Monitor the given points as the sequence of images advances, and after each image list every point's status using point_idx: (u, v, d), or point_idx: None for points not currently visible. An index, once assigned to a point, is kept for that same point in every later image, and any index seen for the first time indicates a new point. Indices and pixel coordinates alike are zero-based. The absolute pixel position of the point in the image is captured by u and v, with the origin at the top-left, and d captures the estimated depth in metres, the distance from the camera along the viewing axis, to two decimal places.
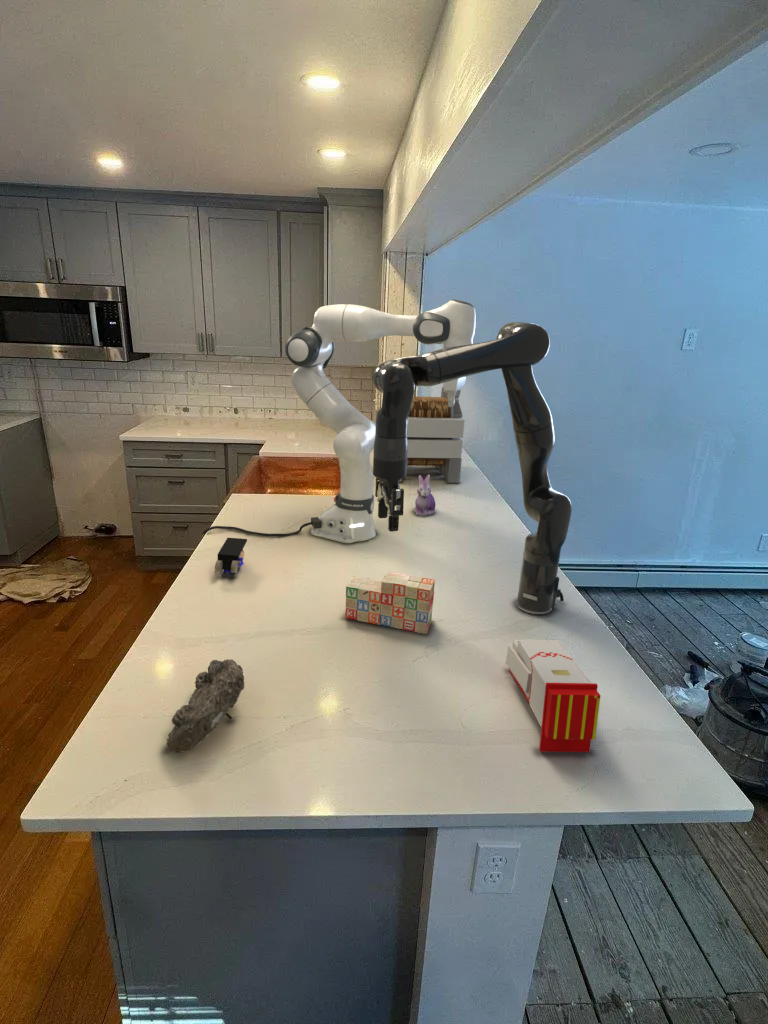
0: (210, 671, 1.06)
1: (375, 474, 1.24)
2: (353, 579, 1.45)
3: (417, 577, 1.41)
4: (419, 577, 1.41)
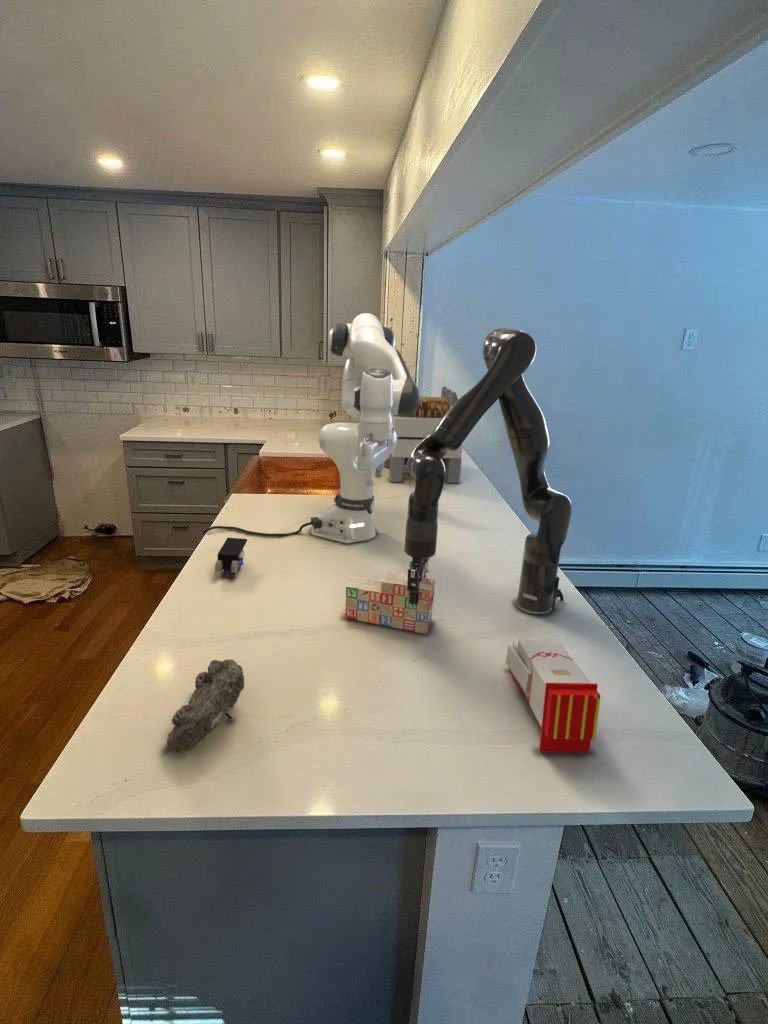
0: (210, 671, 1.06)
1: (404, 549, 1.36)
2: (353, 579, 1.45)
3: None
4: (419, 577, 1.41)
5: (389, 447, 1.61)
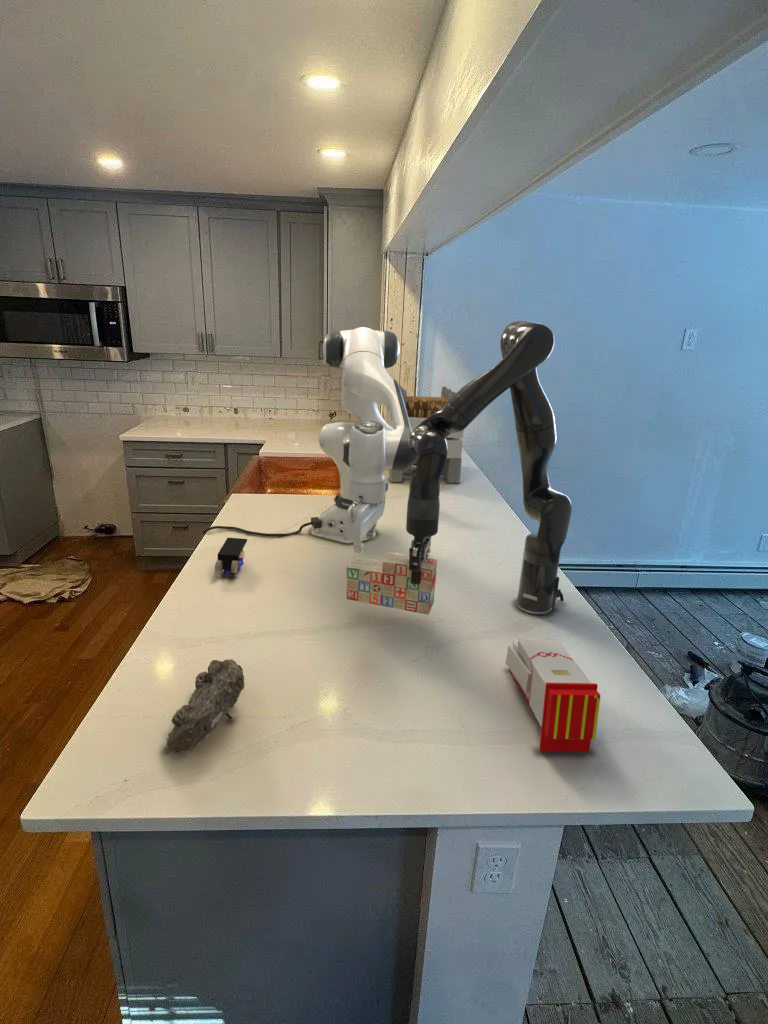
0: (210, 671, 1.06)
1: (406, 528, 1.34)
2: (354, 560, 1.43)
3: None
4: None
5: (382, 504, 1.44)
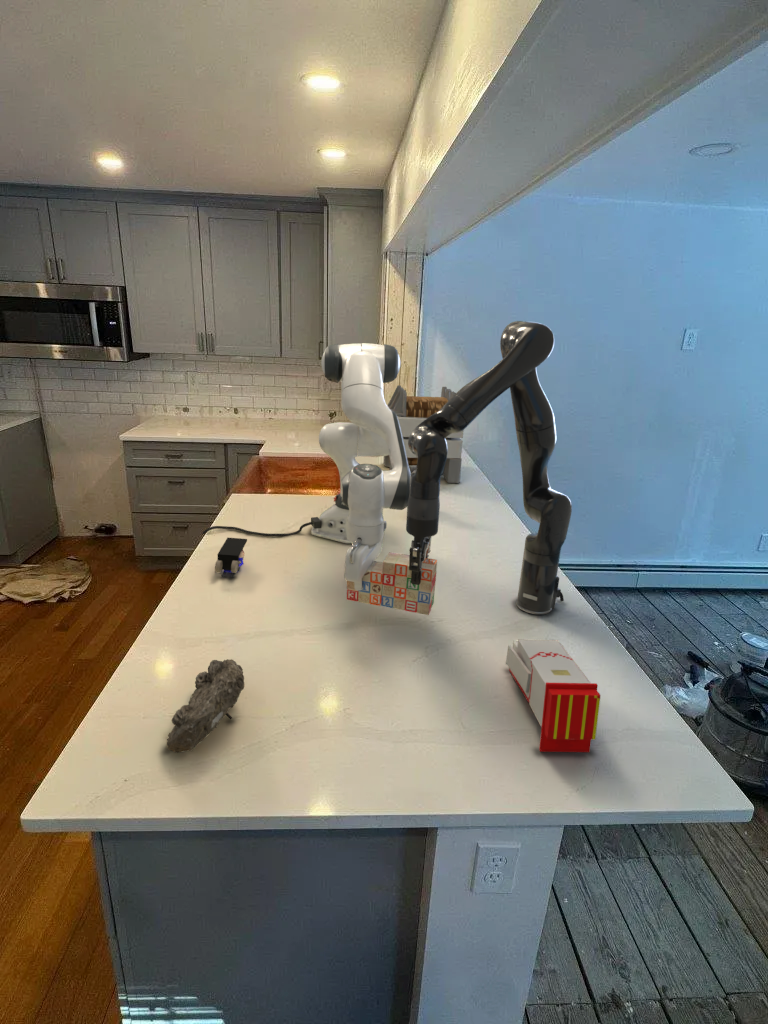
0: (210, 671, 1.06)
1: (406, 528, 1.34)
2: None
3: None
4: None
5: (381, 542, 1.47)
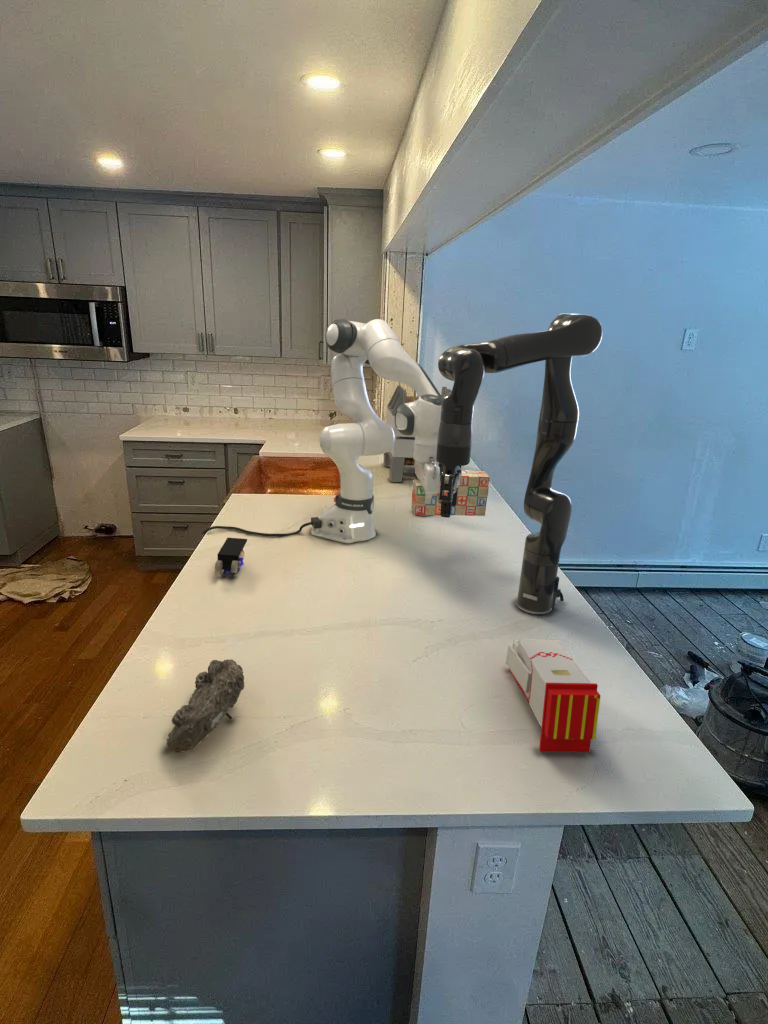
0: (210, 671, 1.06)
1: (436, 458, 1.26)
2: (416, 481, 1.66)
3: (470, 470, 1.68)
4: (472, 470, 1.68)
5: None
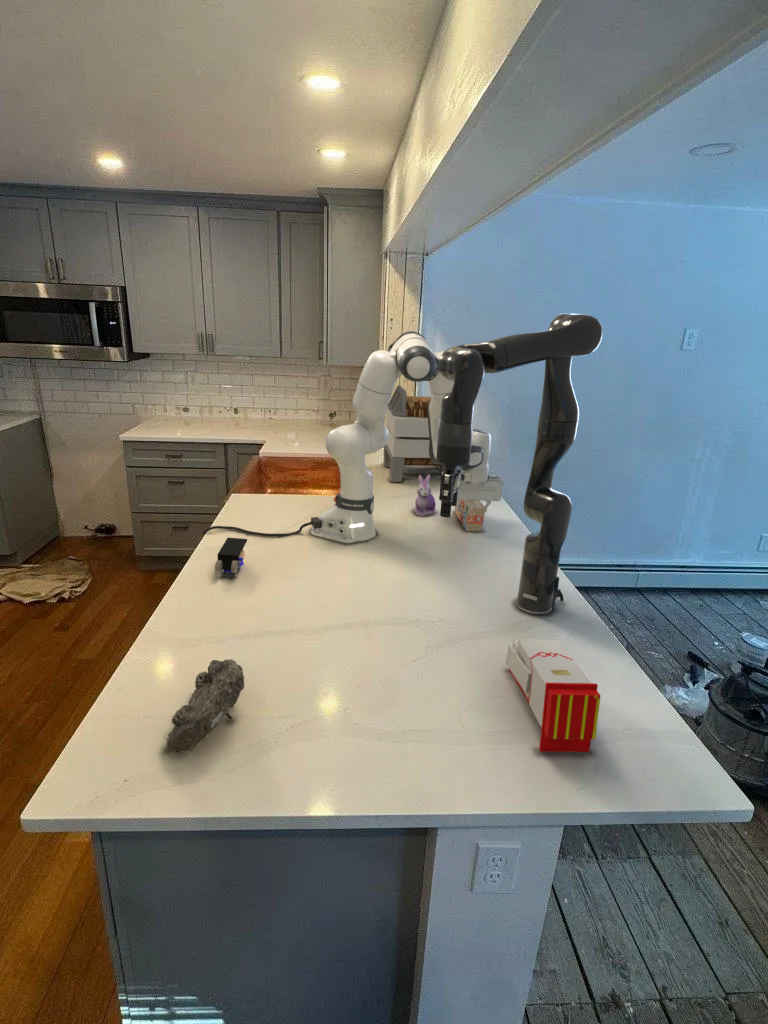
0: (210, 671, 1.06)
1: (436, 458, 1.26)
2: (473, 506, 2.02)
3: None
4: None
5: None
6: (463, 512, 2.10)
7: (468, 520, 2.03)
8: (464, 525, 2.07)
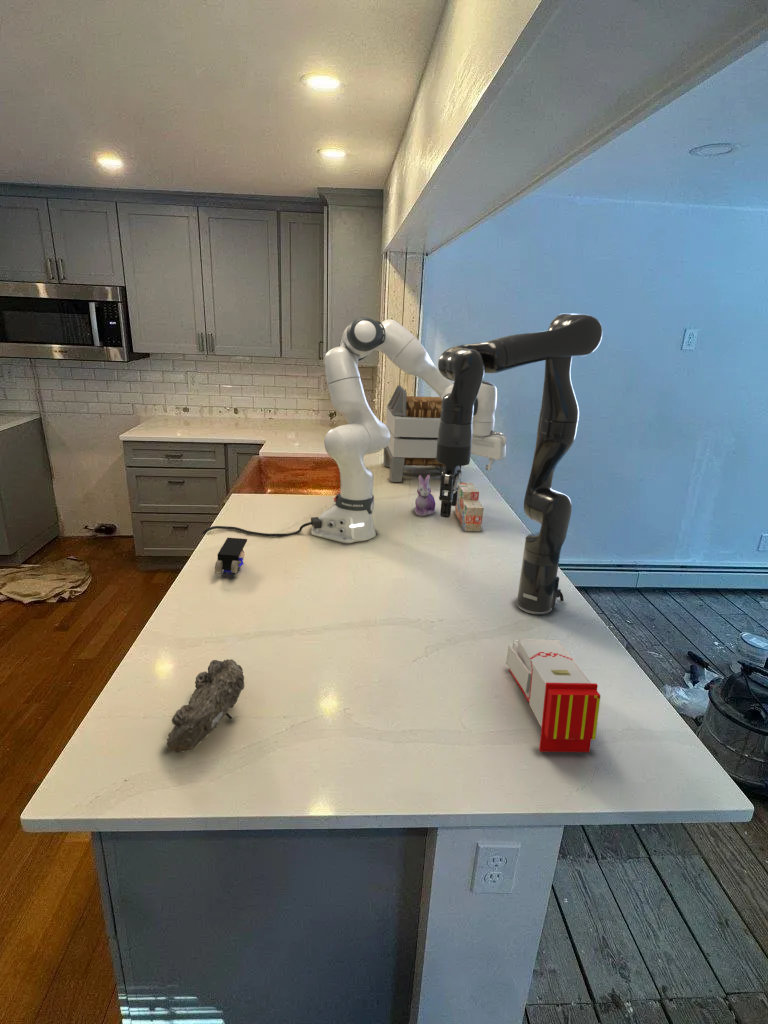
0: (210, 671, 1.06)
1: (436, 458, 1.26)
2: (471, 506, 2.02)
3: (461, 485, 2.17)
4: (460, 484, 2.17)
5: None
6: (462, 512, 2.10)
7: (466, 520, 2.03)
8: (463, 525, 2.07)
